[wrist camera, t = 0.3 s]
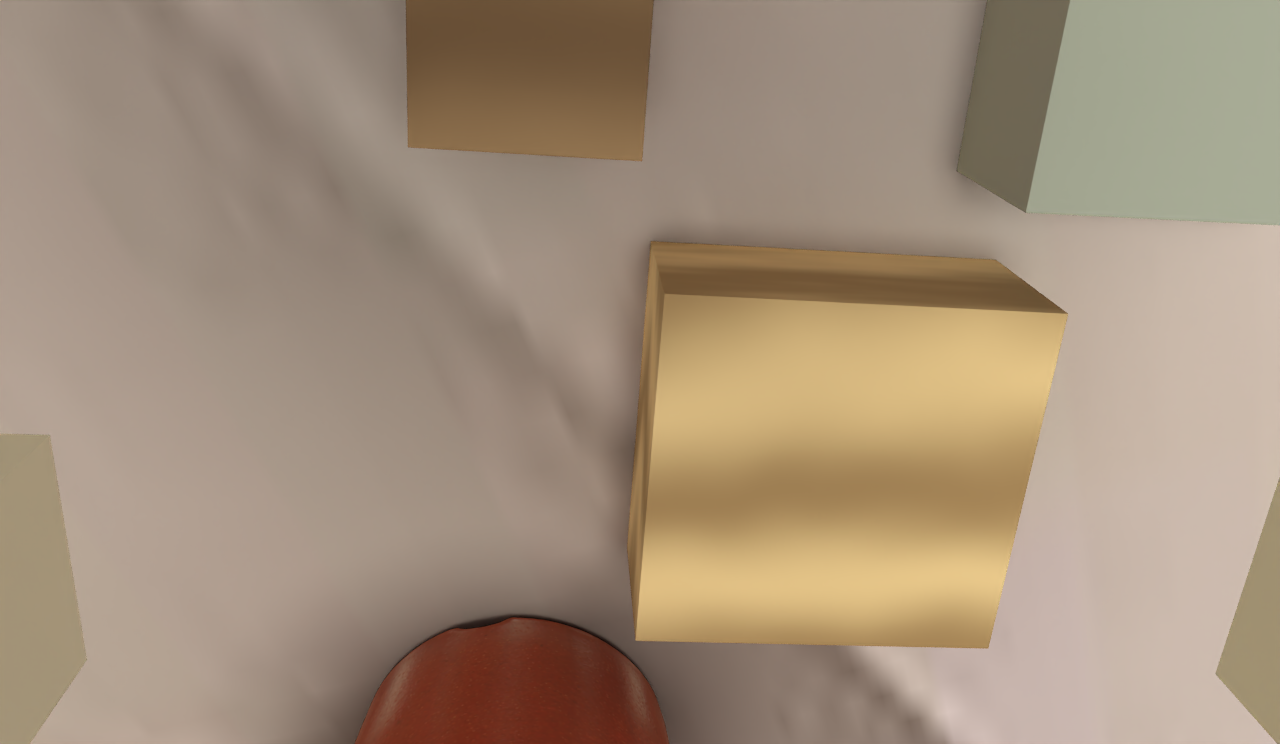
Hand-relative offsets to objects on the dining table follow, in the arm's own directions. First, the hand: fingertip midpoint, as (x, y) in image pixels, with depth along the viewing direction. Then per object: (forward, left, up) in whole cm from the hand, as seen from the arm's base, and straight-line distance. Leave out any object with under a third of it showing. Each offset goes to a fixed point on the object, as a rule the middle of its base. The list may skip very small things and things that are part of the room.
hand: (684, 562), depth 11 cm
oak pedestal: (+9, +8, -25) cm, 27 cm away
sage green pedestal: (-5, +17, -25) cm, 30 cm away
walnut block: (-4, -2, -24) cm, 25 cm away
